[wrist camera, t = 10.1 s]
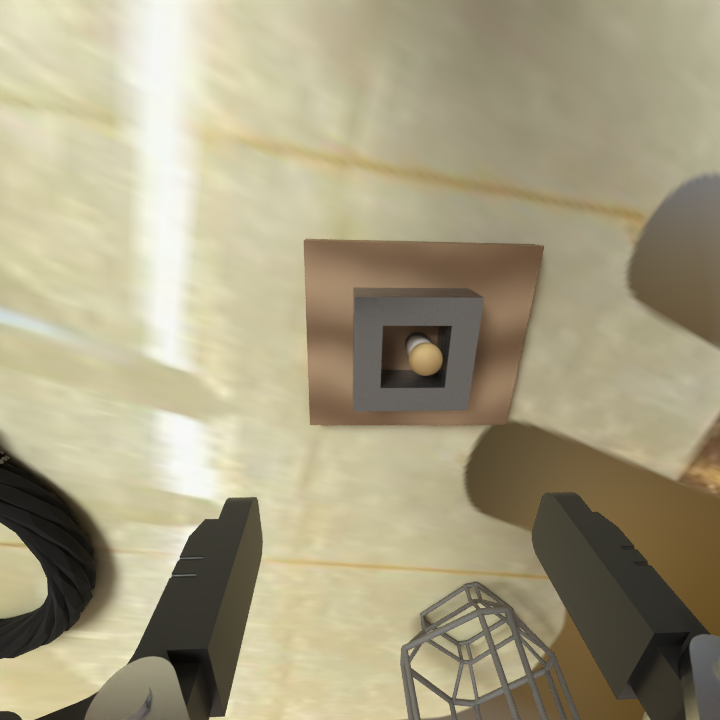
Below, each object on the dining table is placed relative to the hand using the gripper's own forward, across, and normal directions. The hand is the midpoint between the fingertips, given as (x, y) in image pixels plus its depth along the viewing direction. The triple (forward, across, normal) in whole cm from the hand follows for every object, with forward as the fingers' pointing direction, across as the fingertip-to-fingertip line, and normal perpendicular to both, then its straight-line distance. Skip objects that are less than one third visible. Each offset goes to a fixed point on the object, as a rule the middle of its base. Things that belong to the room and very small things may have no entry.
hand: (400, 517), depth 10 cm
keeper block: (+18, -4, +1) cm, 19 cm away
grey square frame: (+17, -3, +1) cm, 17 cm away
